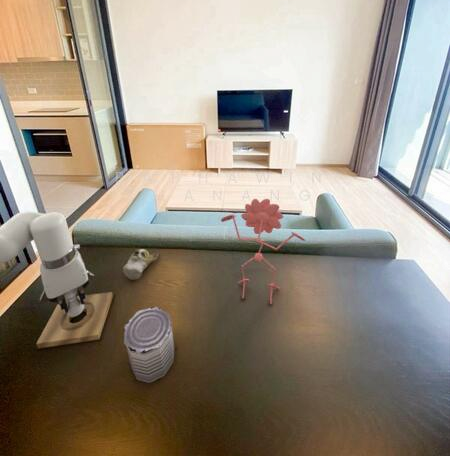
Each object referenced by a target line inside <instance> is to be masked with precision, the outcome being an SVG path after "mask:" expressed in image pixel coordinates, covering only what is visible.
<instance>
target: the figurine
mask: <svg viewBox="0 0 450 456" xmlns="http://www.w3.org/2000/svg"><path fill="white" fill-rule="evenodd" d="M244 205H245V206H244V209H245V212H243V213H241V215H240V217H241V218H242V219H243V220H244V221H245V226H246V227H247V228H253V232H254V234H256V235H258V236H257V238H241V236H240V232H239V229H238V227H237V222H236V219H235V217H236V215H235V214H234V213H232V214H228V215H225V216H223V217H221V218H220V221H221V222H223V223H224V222H227V221H230V220H232V221H233V224H234V225H233V226H234V228H235V231H236V236H237V238H238V241H239V242H240V241H241V242H242V241H245V242H246V241H252V242H253V241H256V243H260V244H261V245H260V247H259V250H258V252H256V253H255V254H254V256H253V257H252V258H250V259H249V260H247V261H246V262H244V263H243V264H241V268H240V269H238V270H237V272H239V271H240V270H241V272H242V278H243V279H242V280H240V281H238V282H237V285H239V286H240V285H243V286H242V295H241V296H242V297H241V299H245V290H246V288H245V287H246V283H247V282H249V280H250V279H248V278H245V273H244V269H245V266H246V265H247V264H249V263H250V262H251V261H253V260H255V262H257V263H260V262H262V261H264V262H266V263H267V265H269V266H270V267H271V268H272V269H273V270H274V271H273V276H272V282H271V283H267V286H268V287H270V295H269V296H270V298H269V304H270V305H272V304H273V303H272V302H273V291H274V290H273V289H275V290H281V287H280V286H277V285H275V284H274V281H275V277H276V271H277V269H276V268H275V267H274V266H273V265H272V264H271V263H269V262H268V260H266V259H265V258H264V255H263V254H262V253H261V252H262V251H261V250H262V248H263V246H264V245H265V246H267V247H269V248H271V249H273V250H275V251H277V250H279V249H280V248H281V247H282V246H284V245H285V244H286V243H287V242H289V241H290V240H291V239H292V238H293V237H296V238H298V239H299V240H301V241H303V242H306V239H305V238H304V237H302V236H301V235H299V234H298V233H296V232H293V231H292V232H291V235H289V236H288V237H287V238H286V239H285V240H284V241H282V243H280V244H279V245H278V246H277V247H275V246H272V245H271V244H269V243H266V242H265V239H260V238H261V235H262V233H263V232H265V233H266V234H271V233H272V232H273V229H277V230H279V229H281V228H282V223H281V222H280V220H281V219H283V218H284V215H283V214H282V212H280V211H279V209H280V204H279V205H278V204H277V203H271V199H269V198H264V199H262V200H261V201H260V200H258V199H257V198H254V199H252V201H251V202H250V203H246V204H244ZM248 268H251V266H247V269H248ZM256 268H258V269H259V268H260V266H258V265H257V266H255V269H256ZM261 269H264V268H263V267H261ZM265 270H266V271H269V272H270V270H268V269H266V268H265ZM235 273H236V271H234V272H233V274H235Z"/></svg>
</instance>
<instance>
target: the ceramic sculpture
mask: <svg viewBox="0 0 450 456" xmlns="http://www.w3.org/2000/svg"><path fill="white" fill-rule="evenodd" d="M160 254H161V252H157V253H152V254H150V253H149V251H148V250H147V249H145V248H137V249H136V250H135V251H134V252H133V253H131V255H130V256H129V259H128V261H127V263H126V264H125V265H124V266H123V267H122V272H123V275H124V276H125V277H126V278H128V279H129V280H131V281H134V280H139V279H140V278H141V277H142V274H143V271H144V270H145V269H146V268H147V267H148V266H150V265H152V264H154V263H156V261H158V259H159V258H160Z"/></svg>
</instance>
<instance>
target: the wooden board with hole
mask: <svg viewBox="0 0 450 456" xmlns="http://www.w3.org/2000/svg"><path fill="white" fill-rule="evenodd" d="M77 297H78V299H79V300H80V298H79V295H78V296H77ZM85 297H86V298H85V299H83V300H84V309H83V311H82V312H81V313H86V315H85V316H84V317H83V318H82V319H81V320H80V321H78V322H73V323H72V322H71V321H72V320H73V319H74V317H70V316H68V313H66V312H65V310H64V309H63V310H61V307H60V304H58V303H57V305H56V306H55V309H54V311H53V312H52V314H51V316H50V318H49V319H48V321H47V323H46V325H45V327H44V329H43V330H42V332H41V334H40V336H39V338H38V340H36V341H37V342H36V344H35V345H36V347H37V349H39V350H40V349H45V348H50V347H58V346H63V345H65V346H66V345H71V344H77V343H84V342H90V341H98V340H100V338H101V335H102V331H103V330H104V327H105V326H104V325H105V322H106V319H107V316H108V314H109V310H110V307H111V304H112V301H113V298H114V294H113V292H112V291H110V292H102V293H93V294H85ZM65 299H66V298H65ZM66 302H67V306H69V305H68V301H67V299H66Z"/></svg>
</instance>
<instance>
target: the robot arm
mask: <svg viewBox="0 0 450 456" xmlns="http://www.w3.org/2000/svg"><path fill="white" fill-rule="evenodd" d="M32 241H34V244H35V248H36V250H37V253H38V256H39V259H40V261H41V263H40V265H39V271H40V277H41V282H42V285H43V291H42V293H41V295H40V297H39V302H40V303H41V304H42V303H49V302H50V303H53V304H54V303H55V304H57V305H58V304H60V307H61V310H63V309H64V310H65V312H66V313H67V312H68V306H67V302H66V299H65V297H64V296H65V293H66V292H68V291H71V290H73V289H77V295H78V296H79V298H80V301H81V304H82V305H83V304H84V300H83V299H85V298H86V297H85V295H86V294H85V291H86V289H87V287H89V284H90V283H91V282H92V281H93V280H94V279H95V278H96V275H95V274H94V273H93V272H92V271H89V270H88V269H87V268H86V265H85V263H84V260H83V257H82V256H81V255H82V254H81V253H80V252H79V251H78V250H81V246H80V244H73V240H72V237H71V233H70V230H69V226H68V223H67V219H66V217H65V215H64V214H63V213H61V212H58V211H56V212H55V211H52V212H47V213H44V212H43V213H42V212H36V211H28V210H27V211H26V210H25V211H20V212H18V213H15V214H14V215H13V216H11V217H10V218H9V219H8V220H7V221H5V222H3V224H2V225H0V264H4V263H8V262H10V261H12V260H14V259H15V258H16V257H17V256H18V255H19V254H20V253H21V252H23V250H24V249H25V248H26V247H28V245H29V244H30V243H31V242H32Z"/></svg>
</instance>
